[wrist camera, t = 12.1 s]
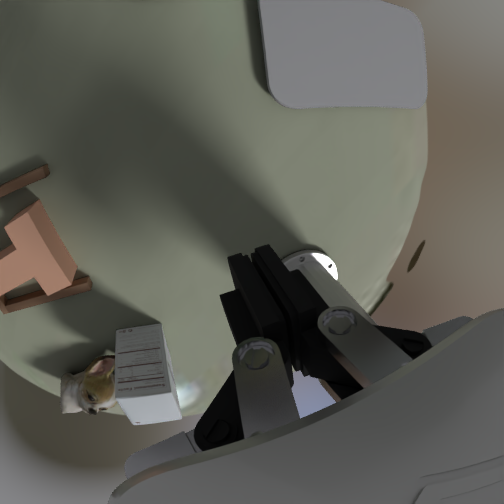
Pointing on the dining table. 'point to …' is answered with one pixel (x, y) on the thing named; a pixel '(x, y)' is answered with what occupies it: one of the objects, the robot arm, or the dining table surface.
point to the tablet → (343, 54)
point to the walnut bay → (39, 296)
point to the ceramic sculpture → (90, 388)
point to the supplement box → (145, 376)
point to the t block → (35, 253)
